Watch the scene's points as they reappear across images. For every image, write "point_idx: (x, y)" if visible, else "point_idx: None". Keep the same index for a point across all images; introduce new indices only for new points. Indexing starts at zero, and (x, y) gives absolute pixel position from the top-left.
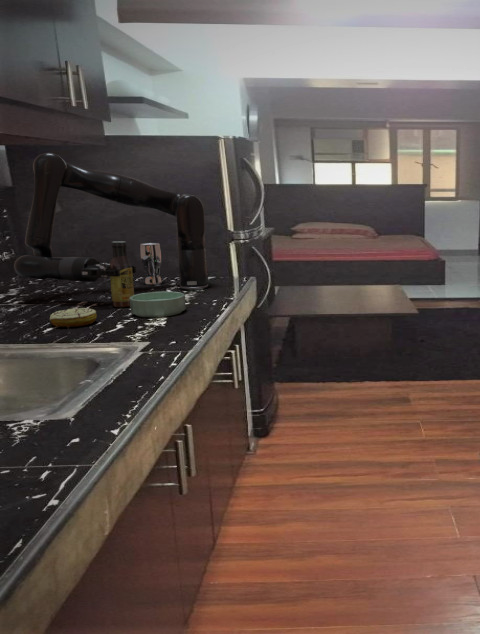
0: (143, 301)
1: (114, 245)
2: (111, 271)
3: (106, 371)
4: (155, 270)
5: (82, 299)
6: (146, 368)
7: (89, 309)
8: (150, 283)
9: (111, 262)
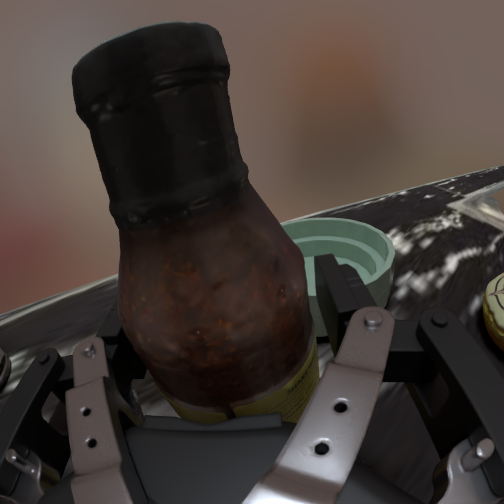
0: (384, 234)
1: (227, 61)
2: (359, 282)
3: (496, 190)
4: None
5: None
6: (471, 183)
7: (502, 286)
8: None
9: (280, 266)
